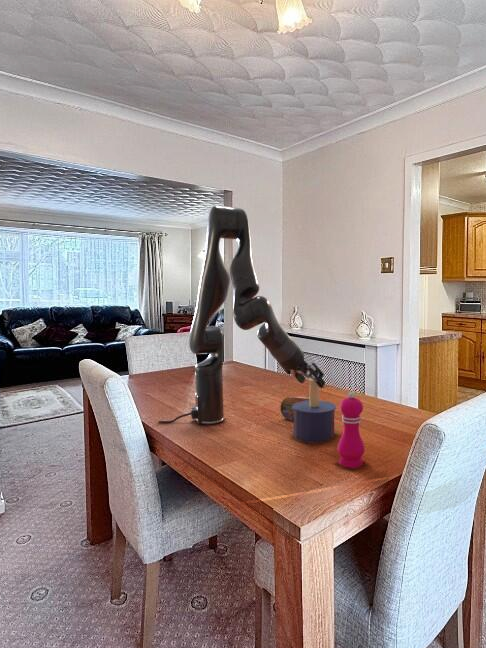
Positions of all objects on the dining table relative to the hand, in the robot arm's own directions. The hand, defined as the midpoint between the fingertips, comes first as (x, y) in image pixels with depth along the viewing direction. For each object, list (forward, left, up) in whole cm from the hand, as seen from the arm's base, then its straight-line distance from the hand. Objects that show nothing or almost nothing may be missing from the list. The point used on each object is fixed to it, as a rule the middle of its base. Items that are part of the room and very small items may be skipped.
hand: (312, 383), depth 142 cm
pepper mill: (+1, -24, -17) cm, 30 cm away
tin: (+2, +17, -17) cm, 25 cm away
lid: (0, 0, -8) cm, 8 cm away
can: (0, 0, -17) cm, 17 cm away
